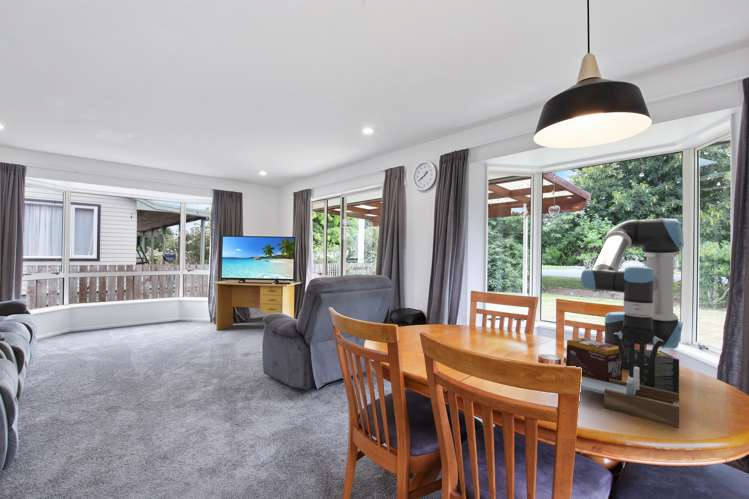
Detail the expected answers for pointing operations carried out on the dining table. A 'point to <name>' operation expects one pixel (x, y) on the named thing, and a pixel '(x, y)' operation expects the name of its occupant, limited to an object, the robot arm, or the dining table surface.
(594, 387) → the cover plate
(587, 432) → the dining table surface
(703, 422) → the dining table surface
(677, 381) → the tampon box
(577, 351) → the supplement box
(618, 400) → the grooved box
